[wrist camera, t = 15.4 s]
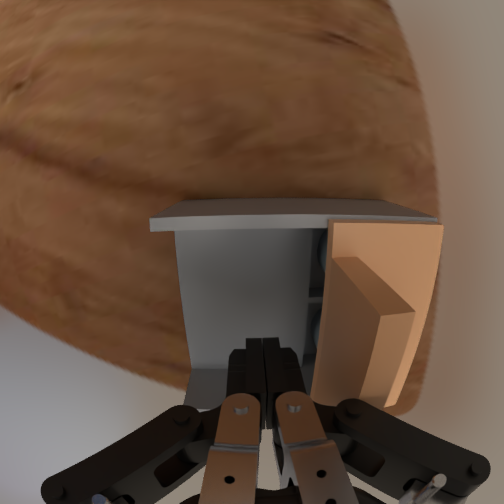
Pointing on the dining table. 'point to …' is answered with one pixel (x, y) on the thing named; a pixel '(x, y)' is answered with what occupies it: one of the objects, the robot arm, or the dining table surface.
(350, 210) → the housing
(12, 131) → the dining table surface
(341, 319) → the lid
